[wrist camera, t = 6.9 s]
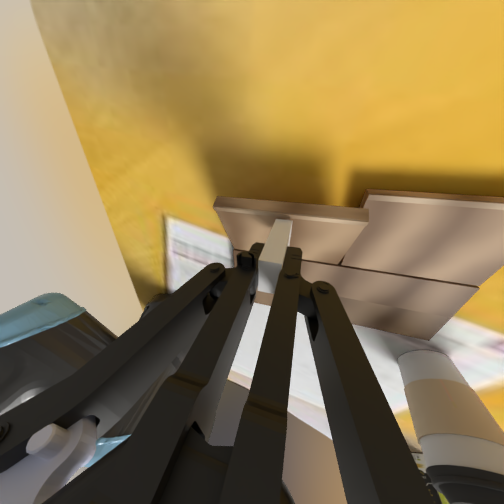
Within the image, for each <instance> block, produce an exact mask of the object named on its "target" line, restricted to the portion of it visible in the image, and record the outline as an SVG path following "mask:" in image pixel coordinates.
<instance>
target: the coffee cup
mask: <svg viewBox="0 0 504 504" xmlns="http://www.w3.org/2000/svg"><path fill="white" fill-rule="evenodd" d="M398 365H399V369H400V372H401V376H402V379H403V383H404V387H405V388H404V391H405V395H406V399H407V402H408V406H409V410H410V414H411V417H412V421H413V425H414V429H415V432H416V436H417V440H418V443H419V444H420V446H421V448H422V452H423V455H424V459H425V463H426V466H427V468H426V473H427V474H428V476H429V477H430V479H431V483H432V485H433V487H434V488H435V489H436V490H437V491H438V492H440V493H441V494H443V495H444V496H445V498H446V499H447V501H448V502H449V504H504V432H503V431H502V429H501V428H500V427H499V425H498V424H497V422H496V421H495V419H494V418H493V417H492V415H491V414H490V412H489V411H488V410H487V408H486V407H485V405H484V404H483V402H482V401H481V400H480V398H479V397H478V395H477V394H476V393H475V391H474V390H473V389H472V388H471V387H470V386H469V385H468V383H467V382H466V380H465V379H464V377H463V376H462V374H461V373H460V372H459V370H458V369H457V367H456V366H455V364H454V363H453V362H452V360H451V359H450V358H449V357H448V356H446V355H445V354H442V353H439V352H436V351H429V350H416V351H410V352H407V353H404V354H402V355H401V356H400V357H399V358H398Z"/></svg>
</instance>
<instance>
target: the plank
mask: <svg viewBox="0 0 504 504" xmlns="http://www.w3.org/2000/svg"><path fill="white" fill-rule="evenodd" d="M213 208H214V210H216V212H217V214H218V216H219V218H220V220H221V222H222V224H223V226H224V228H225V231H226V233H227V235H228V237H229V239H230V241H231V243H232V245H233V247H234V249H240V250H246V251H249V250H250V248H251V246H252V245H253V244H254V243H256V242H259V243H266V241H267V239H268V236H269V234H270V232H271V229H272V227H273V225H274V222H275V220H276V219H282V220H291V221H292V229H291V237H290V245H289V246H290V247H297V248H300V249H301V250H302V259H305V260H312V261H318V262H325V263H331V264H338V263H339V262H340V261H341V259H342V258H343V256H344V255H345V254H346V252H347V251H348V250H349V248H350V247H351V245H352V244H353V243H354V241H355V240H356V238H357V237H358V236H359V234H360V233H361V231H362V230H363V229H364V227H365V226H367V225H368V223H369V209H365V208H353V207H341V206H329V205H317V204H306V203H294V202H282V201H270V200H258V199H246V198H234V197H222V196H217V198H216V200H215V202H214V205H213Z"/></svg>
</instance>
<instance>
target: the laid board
mask: <svg viewBox="0 0 504 504" xmlns="http://www.w3.org/2000/svg"><path fill="white" fill-rule="evenodd" d="M244 251H246V250H240V249H234V250H233V255H234V268H235V267H236V266H237V256H236V255H237V254H238V253H240V252H244ZM301 276H302V277H303V278H304V279H305V280H306V281H308V282H310V283H313V282H315V281H325V282H328V283H330V284H331V285H333V287H334V288H335V290H336V292H337V294H338V296H339V298H340V300H341V302H342V305H343V307H344V309H345V311H346V313H347V315H348V318H349V320H350V322H351V324H355V325H360V326H364V327H369V328H374V329H378V330H383V331H387V332H392V333H396V334H401V335H406V336H410V337H415V338H419V339H424V340H428V341H429V340H430V339H431V338H432V337H433V336H434V335H435V334H436V333H437V332H438V331H439V330H440V329H441V328H442V327H443V326H444V325H445V324H446V323H447V322H448V320H449V319H450V318H451V317H452V316H453V315H454V314H455V313H456V312H457V311H458V310H459V309H460V308H461V307H462V306H463V305H464V304H465V303H466V302H467V301H468V300H469V299H470V298H471V297H472V296H473V295H474V294H475V293H476V292H477V291H478V290H479V289H480V288H479V287H478V286H476V285H469V284H462V283H456V282H449V281H443V280H436V279H430V278H423V277H417V276H410V275H403V274H397V273H390V272H384V271H377V270H371V269H364V268H358V267H351V266H344V265H341V261H340V262H339V263H338V264H331V263H325V262H318V261H312V260H305V259H302V262H301ZM273 296H274V294H271V293H266V292H261V291H258V287H257V290H256V297H255V300H254V302H255V303H259V304H264V305H269V306H271V304H272V300H273Z"/></svg>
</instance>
